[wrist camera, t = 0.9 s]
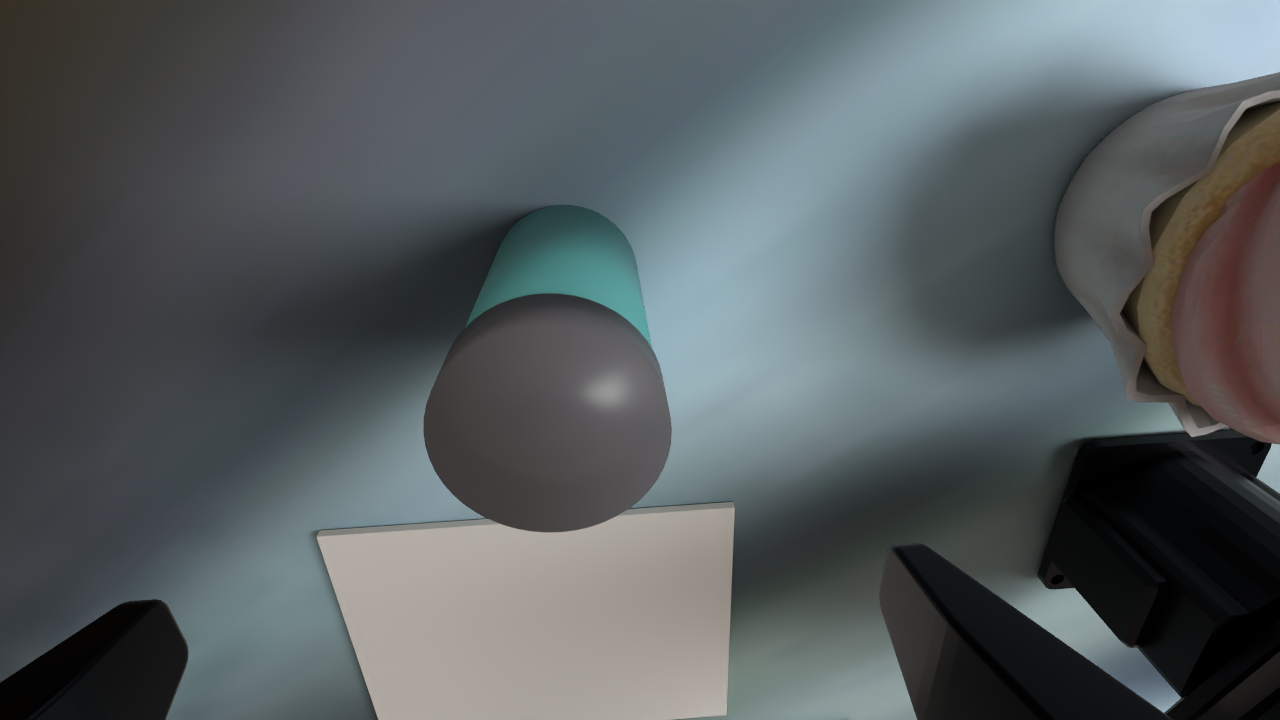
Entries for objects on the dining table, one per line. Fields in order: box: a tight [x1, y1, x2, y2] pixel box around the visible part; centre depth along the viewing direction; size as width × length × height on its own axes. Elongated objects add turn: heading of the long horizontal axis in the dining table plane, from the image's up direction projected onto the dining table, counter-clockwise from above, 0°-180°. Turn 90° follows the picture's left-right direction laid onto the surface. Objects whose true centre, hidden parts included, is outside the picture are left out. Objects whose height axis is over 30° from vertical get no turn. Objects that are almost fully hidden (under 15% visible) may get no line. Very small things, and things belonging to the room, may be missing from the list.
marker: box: [424, 205, 672, 533], centre depth 15 cm, size 4×4×8 cm
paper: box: [316, 502, 735, 720], centre depth 25 cm, size 14×11×1 cm
